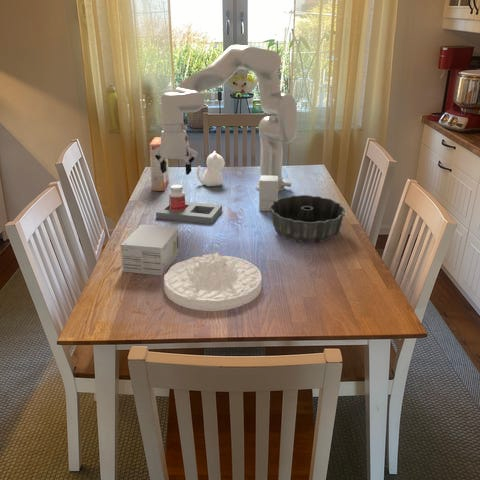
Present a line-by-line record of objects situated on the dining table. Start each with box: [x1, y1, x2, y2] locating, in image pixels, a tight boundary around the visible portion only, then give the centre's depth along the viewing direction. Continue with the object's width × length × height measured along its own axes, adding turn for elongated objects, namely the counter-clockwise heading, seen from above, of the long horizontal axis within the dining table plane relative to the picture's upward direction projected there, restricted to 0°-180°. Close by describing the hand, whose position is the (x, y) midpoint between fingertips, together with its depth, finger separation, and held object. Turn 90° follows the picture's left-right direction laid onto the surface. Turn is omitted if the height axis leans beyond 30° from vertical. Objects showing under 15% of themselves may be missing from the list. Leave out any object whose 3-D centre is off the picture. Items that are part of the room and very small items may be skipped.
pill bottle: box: [168, 184, 186, 212], centre depth 203 cm, size 6×6×11 cm
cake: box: [163, 251, 263, 312], centre depth 150 cm, size 28×28×10 cm
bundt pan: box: [270, 194, 346, 244], centre depth 185 cm, size 26×26×10 cm
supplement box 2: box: [258, 175, 279, 212], centre depth 208 cm, size 7×7×13 cm
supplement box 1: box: [119, 224, 180, 277], centre depth 164 cm, size 17×13×9 cm
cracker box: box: [149, 136, 170, 192], centre depth 231 cm, size 14×6×21 cm, turn 179°
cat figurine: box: [196, 150, 226, 187], centre depth 235 cm, size 9×12×15 cm
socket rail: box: [155, 200, 223, 225], centre depth 203 cm, size 22×14×2 cm, turn 76°
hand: (176, 172), depth 199 cm, fingers open, 9 cm apart
